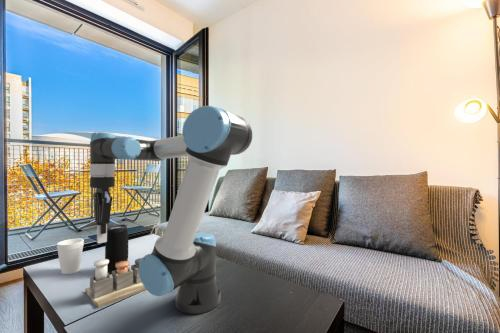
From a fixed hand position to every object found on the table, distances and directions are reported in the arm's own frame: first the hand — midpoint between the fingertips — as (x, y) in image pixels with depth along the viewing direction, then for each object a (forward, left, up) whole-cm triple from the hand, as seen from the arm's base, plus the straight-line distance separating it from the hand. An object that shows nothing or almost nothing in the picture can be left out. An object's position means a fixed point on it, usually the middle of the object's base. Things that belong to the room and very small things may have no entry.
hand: (101, 242), depth 84 cm
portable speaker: (+19, -11, -19) cm, 29 cm away
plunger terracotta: (0, -7, -16) cm, 18 cm away
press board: (0, -7, -19) cm, 20 cm away
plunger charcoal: (0, -14, -17) cm, 22 cm away
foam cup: (+33, +3, -19) cm, 38 cm away
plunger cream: (0, 0, -14) cm, 14 cm away
